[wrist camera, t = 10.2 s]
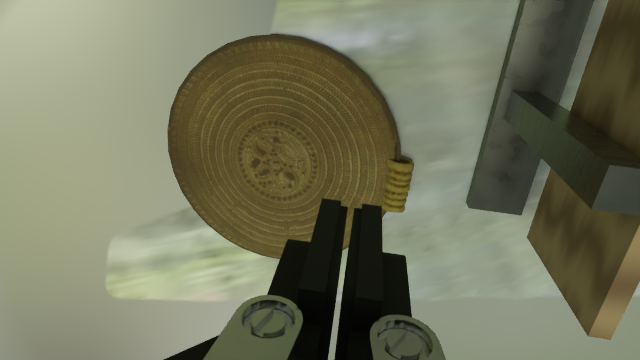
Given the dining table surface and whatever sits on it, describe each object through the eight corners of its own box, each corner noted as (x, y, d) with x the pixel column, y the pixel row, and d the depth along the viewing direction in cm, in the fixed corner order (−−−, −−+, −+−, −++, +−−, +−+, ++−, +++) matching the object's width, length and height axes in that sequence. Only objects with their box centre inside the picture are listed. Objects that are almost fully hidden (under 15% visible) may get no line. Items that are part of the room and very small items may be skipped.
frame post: (528, -30, 40) (674, -47, 21) (594, -24, 40) (807, -35, 20) (466, 202, 51) (522, 339, 31) (517, 209, 51) (607, 352, 31)
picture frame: (611, -18, 34) (749, -26, 21) (639, -16, 34) (796, -21, 21) (524, 236, 44) (583, 335, 31) (545, 239, 44) (614, 340, 31)
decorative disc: (145, 29, 46) (430, 43, 41) (161, 27, 49) (428, 39, 44) (175, 253, 58) (400, 281, 53) (187, 240, 61) (400, 266, 56)
